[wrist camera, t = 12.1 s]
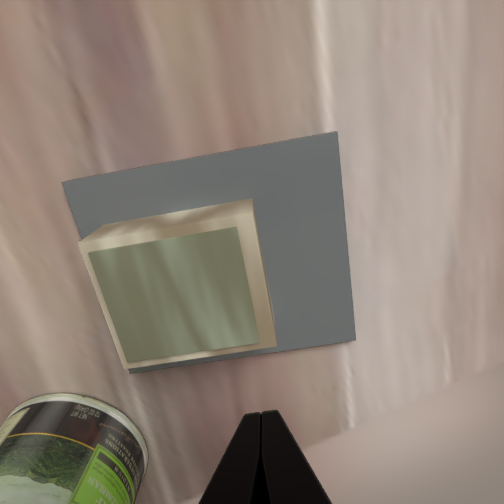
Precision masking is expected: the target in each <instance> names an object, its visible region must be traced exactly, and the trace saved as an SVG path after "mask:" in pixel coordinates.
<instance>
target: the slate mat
mask: <svg viewBox="0 0 504 504" xmlns="http://www.w3.org/2000/svg"><path fill="white" fill-rule="evenodd" d="M62 185H63V188H64V191H65V194H66V196H67V199H68V202H69V205H70V207H71V210H72V213H73V216H74V219H75V221H76V224H77V227H78V230H79V233H80V235H81V238H82V240H83V239H84V238H86V237H87V236H88V235H90V234H91V233H93V232H94V231H95V230H97V229H98V228H100V227H101V226H103V225H105V224H111V223H116V222H122V221H128V220H133V219H139V218H145V217H150V216H156V215H162V214H167V213H173V212H178V211H184V210H190V209H195V208H201V207H207V206H212V205H218V204H223V203H229V202H235V201H240V200H246V199H252V198H253V203H254V209H255V214H256V220H257V225H258V231H259V236H260V242H261V247H262V253H263V259H264V264H265V270H266V275H267V281H268V286H269V292H270V297H271V303H272V308H273V314H274V322H275V331H276V340H277V346H276V347H270V348H263V349H256V350H250V351H243V352H236V353H230V354H223V355H216V356H210V357H203V358H196V359H190V360H183V361H176V362H170V363H163V364H157V365H150V366H143V367H137V368H130V369H129V372H130V374H131V373H138V372H144V371H151V370H158V369H165V368H172V367H178V366H185V365H192V364H199V363H206V362H212V361H219V360H226V359H233V358H239V357H246V356H253V355H260V354H267V353H273V352H280V351H287V350H294V349H301V348H307V347H314V346H321V345H328V344H335V343H341V342H348V341H355V340H356V334H355V323H354V311H353V300H352V289H351V278H350V267H349V256H348V244H347V233H346V222H345V211H344V200H343V189H342V178H341V166H340V155H339V144H338V133H337V131H334V132H329V133H323V134H318V135H312V136H307V137H301V138H296V139H291V140H285V141H280V142H274V143H269V144H263V145H258V146H253V147H247V148H242V149H236V150H231V151H225V152H220V153H215V154H209V155H204V156H198V157H193V158H187V159H182V160H176V161H171V162H166V163H160V164H155V165H149V166H144V167H138V168H133V169H128V170H122V171H117V172H111V173H106V174H100V175H95V176H90V177H84V178H79V179H73V180H68V181H64V182H62Z"/></svg>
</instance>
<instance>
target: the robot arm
mask: <svg viewBox="0 0 504 504" xmlns="http://www.w3.org/2000/svg"><path fill="white" fill-rule="evenodd" d="M199 504H332V503H331V501H330V499H329V497H328V496H327V494H326V492H325V491H324V489H323V488H322V485H321V484H320V482H319V480H318V478H317V477H316V475H315V473H314V471H313V470H312V468H311V466H310V465H309V463H308V461H307V459H306V458H305V456H304V454H303V452H302V451H301V449H300V447H299V445H298V444H297V442H296V440H295V439H294V437H293V435H292V433H291V432H290V430H289V428H288V426H287V425H286V423H285V421H284V420H283V418H282V416H281V414H280V413H279V411H278V410H270V411H264V412H262V414H261V413H260V412H255V413H248V414H245V415H244V416H243V418H242V420H241V422H240V424H239V426H238V428H237V430H236V432H235V434H234V436H233V438H232V440H231V441H230V443H229V445H228V447H227V449H226V451H225V453H224V455H223V457H222V459H221V461H220V463H219V465H218V467H217V469H216V471H215V473H214V474H213V476H212V478H211V480H210V482H209V484H208V486H207V488H206V490H205V492H204V494H203V496H202V498H201V500H200V502H199Z"/></svg>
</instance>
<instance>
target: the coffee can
mask: <svg viewBox="0 0 504 504" xmlns="http://www.w3.org/2000/svg"><path fill="white" fill-rule="evenodd" d="M147 464H148V451H147V447H146V443H145V441H144V438H143V436H142V434H141V433H140V431H139V429H138V428H137V427H136V426H135V425H134V424H133V422H132V421H131V420H130V419H129V418H128V417H127V416H126V415H124V414H123V413H122V412H120V411H119V410H117V409H116V408H114V407H112V406H111V405H109V404H107V403H104V402H102V401H100V400H97V399H94V398H91V397H87V396H82V395H77V394H71V393H54V394H47V395H42V396H38V397H35V398H32V399H29V400H28V401H26V402H24V403H22V404H21V405H19V406H18V407H17V408H15V409H14V410H13V411H12V412H11V413H10V415H9V416H8V417H7V419H6V420H5V422H4V423H3V425H2V426H1V427H0V504H134V502H135V499H136V496H137V493H138V490H139V486H140V483H141V480H142V478H143V476H144V474H145V472H146V469H147Z"/></svg>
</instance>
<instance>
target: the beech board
mask: <svg viewBox="0 0 504 504" xmlns="http://www.w3.org/2000/svg"><path fill="white" fill-rule="evenodd" d="M78 246H79V248H80V251H81V254H82V256H83V259H84V262H85V265H86V267H87V270H88V273H89V275H90V278H91V281H92V284H93V286H94V289H95V292H96V295H97V297H98V300H99V303H100V305H101V308H102V311H103V314H104V316H105V319H106V322H107V324H108V327H109V330H110V333H111V335H112V338H113V341H114V343H115V346H116V349H117V352H118V354H119V357H120V360H121V363H122V365H123V368H124V369H130V368H137V367H143V366H150V365H157V364H163V363H170V362H176V361H183V360H190V359H196V358H203V357H210V356H216V355H223V354H230V353H236V352H243V351H250V350H256V349H263V348H270V347H276V346H277V340H276V331H275V322H274V314H273V308H272V303H271V297H270V292H269V286H268V281H267V275H266V270H265V264H264V259H263V253H262V247H261V242H260V236H259V231H258V225H257V220H256V214H255V209H254V203H253V198H252V199H246V200H240V201H235V202H229V203H223V204H218V205H212V206H207V207H201V208H195V209H190V210H184V211H178V212H173V213H167V214H162V215H156V216H150V217H145V218H139V219H133V220H128V221H122V222H116V223H111V224H105V225H103V226H101V227H100V228H98V229H97V230H95V231H94V232H93V233H91V234H90V235H88V236H87V237H86V238H84V239H83V240H81V241H80V242H78Z"/></svg>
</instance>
